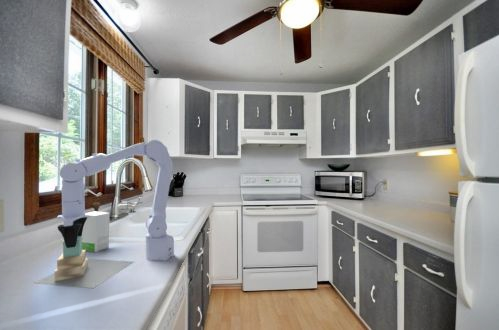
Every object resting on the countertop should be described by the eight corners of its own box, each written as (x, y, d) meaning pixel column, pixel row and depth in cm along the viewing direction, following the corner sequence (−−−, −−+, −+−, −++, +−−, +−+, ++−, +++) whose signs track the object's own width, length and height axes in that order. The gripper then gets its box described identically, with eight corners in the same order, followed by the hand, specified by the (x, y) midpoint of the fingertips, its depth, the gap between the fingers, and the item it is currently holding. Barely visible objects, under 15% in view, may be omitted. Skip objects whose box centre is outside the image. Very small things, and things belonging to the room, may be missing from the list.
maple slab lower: (87, 266, 75) (87, 257, 75) (83, 275, 69) (83, 265, 69) (61, 271, 72) (61, 262, 72) (54, 281, 65) (54, 271, 65)
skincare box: (79, 252, 89) (79, 214, 89) (94, 246, 96) (94, 211, 96) (96, 254, 87) (96, 215, 87) (110, 248, 94) (110, 211, 94)
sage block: (82, 251, 73) (81, 235, 73) (79, 255, 69) (79, 239, 69) (66, 253, 71) (66, 237, 71) (63, 257, 67) (63, 241, 67)
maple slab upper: (85, 258, 74) (85, 249, 74) (82, 265, 69) (81, 256, 69) (62, 262, 71) (62, 253, 71) (57, 270, 66) (57, 260, 66)
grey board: (134, 264, 78) (134, 261, 78) (93, 291, 61) (93, 288, 61) (85, 261, 81) (85, 258, 81) (33, 286, 65) (33, 282, 65)
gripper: (63, 198, 75) (64, 238, 75) (49, 205, 62) (50, 253, 62) (89, 197, 78) (89, 235, 78) (80, 203, 66) (81, 249, 66)
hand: (74, 243), depth 71 cm, fingers open, 7 cm apart
